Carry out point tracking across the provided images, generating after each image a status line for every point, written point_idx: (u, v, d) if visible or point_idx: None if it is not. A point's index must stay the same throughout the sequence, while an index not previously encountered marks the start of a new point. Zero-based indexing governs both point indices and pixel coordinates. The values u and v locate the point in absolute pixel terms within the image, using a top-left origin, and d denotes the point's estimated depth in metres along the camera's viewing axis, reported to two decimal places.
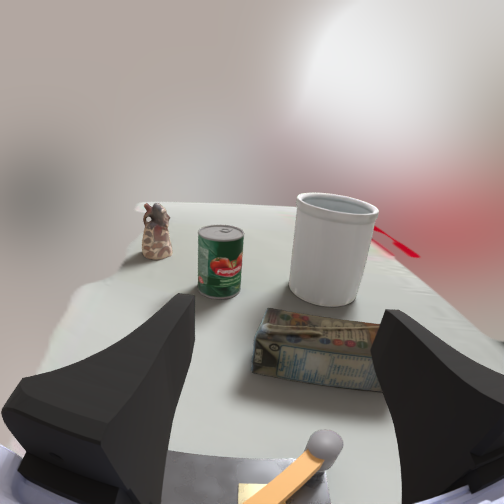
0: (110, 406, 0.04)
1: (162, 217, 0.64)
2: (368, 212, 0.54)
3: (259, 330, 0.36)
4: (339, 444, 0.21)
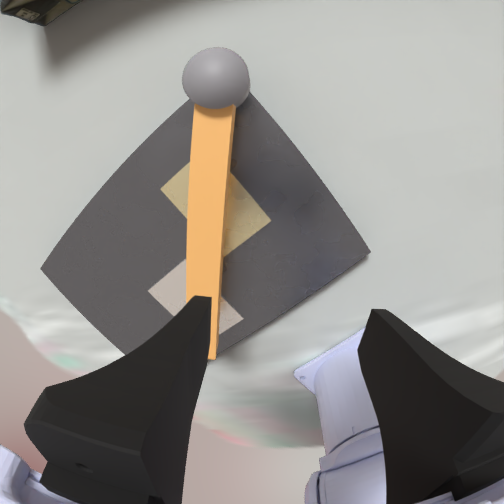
0: (144, 414, 0.04)
1: None
2: None
3: None
4: (238, 66, 0.12)
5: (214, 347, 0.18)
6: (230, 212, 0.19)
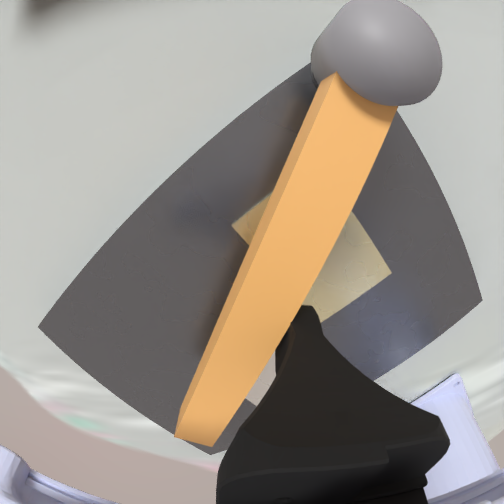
0: (361, 427, 0.04)
1: None
2: None
3: None
4: (431, 51, 0.05)
5: (216, 436, 0.11)
6: (340, 262, 0.12)
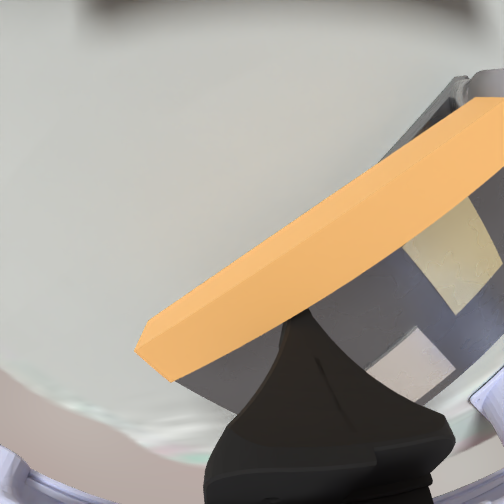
0: (349, 428, 0.04)
1: None
2: None
3: None
4: None
5: (189, 370, 0.10)
6: (472, 262, 0.12)
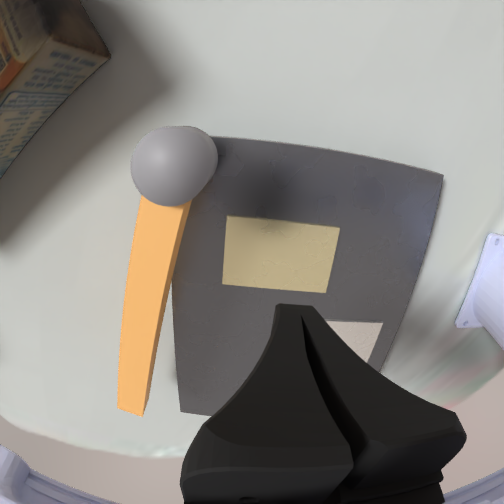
0: (328, 429, 0.04)
1: None
2: None
3: None
4: (198, 159, 0.10)
5: (142, 408, 0.17)
6: (299, 252, 0.16)
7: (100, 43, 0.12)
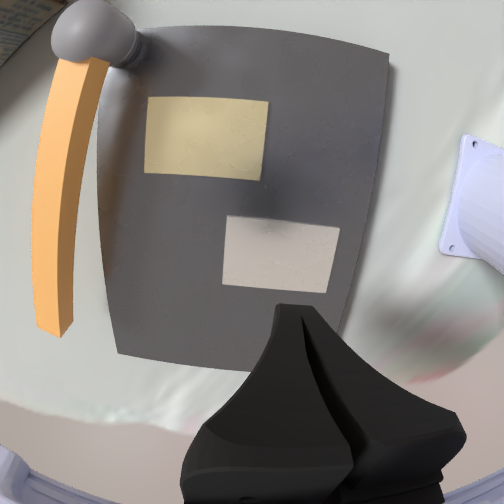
0: (328, 429, 0.04)
1: None
2: None
3: None
4: (102, 15, 0.08)
5: (57, 324, 0.14)
6: (224, 130, 0.14)
7: None
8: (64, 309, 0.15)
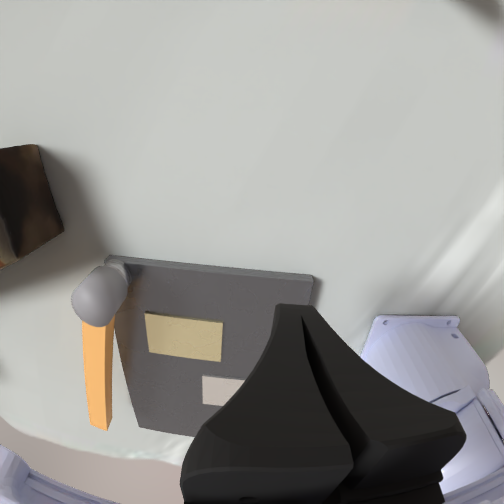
0: (328, 429, 0.04)
1: None
2: None
3: None
4: (105, 305, 0.17)
5: (105, 425, 0.23)
6: (196, 336, 0.23)
7: (55, 227, 0.19)
8: (108, 417, 0.23)
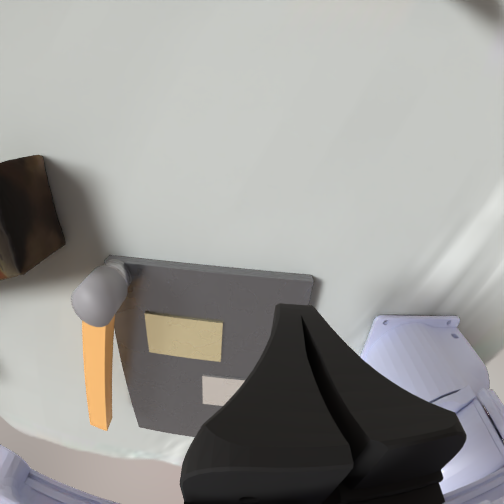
0: (328, 429, 0.04)
1: None
2: None
3: None
4: (105, 305, 0.17)
5: (105, 425, 0.23)
6: (196, 336, 0.23)
7: (57, 241, 0.19)
8: (108, 417, 0.23)
